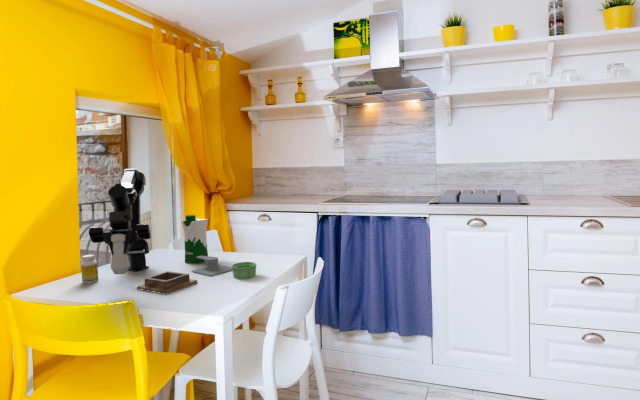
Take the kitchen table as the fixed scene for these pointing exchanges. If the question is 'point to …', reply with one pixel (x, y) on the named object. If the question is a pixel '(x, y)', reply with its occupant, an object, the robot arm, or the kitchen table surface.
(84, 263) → the supplement bottle
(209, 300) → the kitchen table surface
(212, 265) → the shower valve
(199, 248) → the milk carton
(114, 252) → the salt shaker
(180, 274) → the collar socket
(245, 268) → the ramekin
